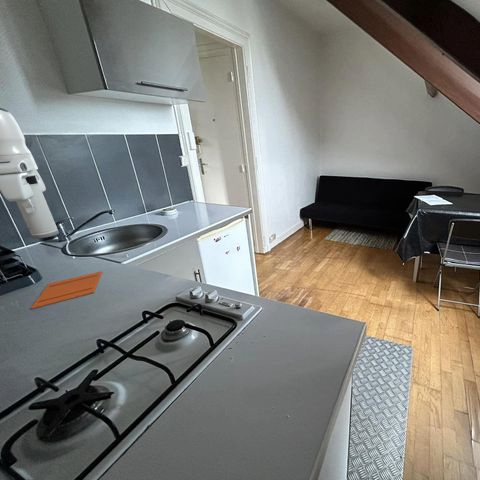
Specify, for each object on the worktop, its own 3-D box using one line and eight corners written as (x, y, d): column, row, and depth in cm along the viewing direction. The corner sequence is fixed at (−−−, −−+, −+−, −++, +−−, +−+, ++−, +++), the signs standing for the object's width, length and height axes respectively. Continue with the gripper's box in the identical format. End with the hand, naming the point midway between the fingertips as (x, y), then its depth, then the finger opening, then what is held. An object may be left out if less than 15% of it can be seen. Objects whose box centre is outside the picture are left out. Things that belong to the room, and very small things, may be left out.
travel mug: (26, 240, 82) (-4, 175, 75) (41, 233, 88) (14, 173, 81) (50, 237, 83) (23, 173, 76) (63, 231, 89) (39, 171, 82)
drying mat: (31, 309, 73) (30, 307, 73) (49, 284, 86) (48, 283, 85) (94, 292, 79) (93, 291, 79) (102, 272, 92) (101, 270, 92)
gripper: (15, 164, 85) (34, 205, 90) (-18, 168, 68) (8, 219, 73) (41, 162, 87) (58, 202, 93) (16, 166, 71) (38, 215, 76)
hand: (36, 210), depth 83 cm, fingers closed on travel mug, 6 cm apart
